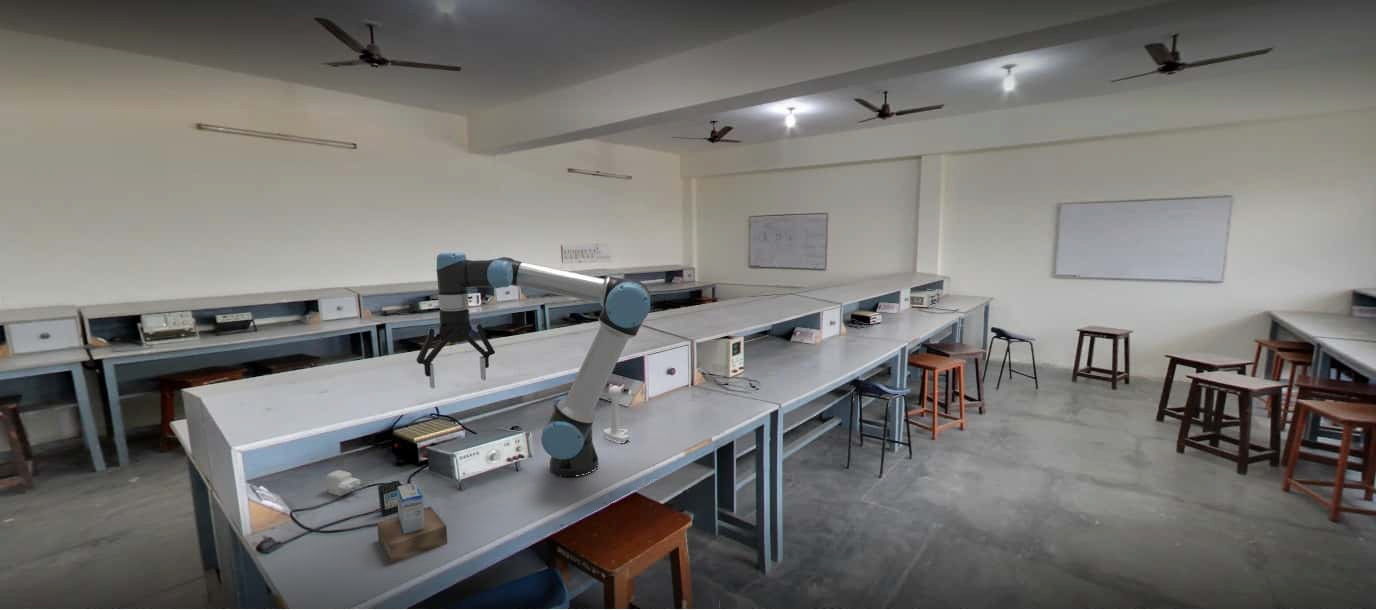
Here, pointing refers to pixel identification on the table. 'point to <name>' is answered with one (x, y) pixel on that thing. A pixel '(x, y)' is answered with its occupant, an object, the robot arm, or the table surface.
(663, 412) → the table surface
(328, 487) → the power adapter
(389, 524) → the walnut block
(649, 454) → the table surface
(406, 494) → the medicine box
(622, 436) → the joystick
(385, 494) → the ink cartridge
